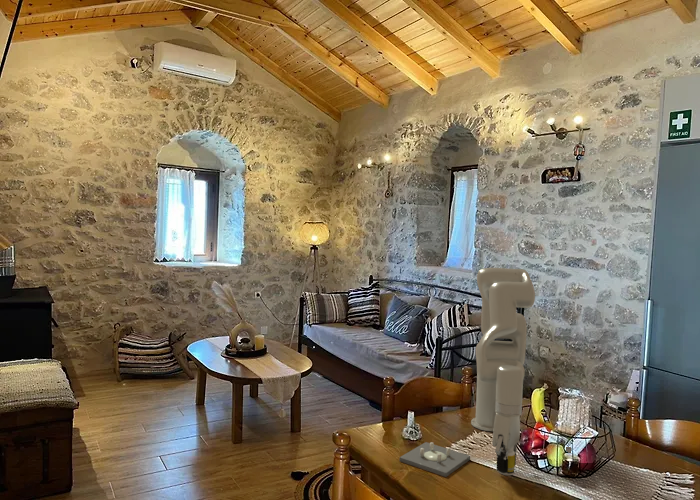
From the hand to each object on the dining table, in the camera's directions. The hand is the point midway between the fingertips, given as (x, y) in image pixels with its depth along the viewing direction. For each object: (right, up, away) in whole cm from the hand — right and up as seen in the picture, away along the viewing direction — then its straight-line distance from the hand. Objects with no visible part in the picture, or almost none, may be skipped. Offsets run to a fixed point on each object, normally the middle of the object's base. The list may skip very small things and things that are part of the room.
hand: (506, 467), depth 159 cm
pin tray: (-20, -1, +7) cm, 21 cm away
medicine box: (+17, -2, +3) cm, 18 cm away
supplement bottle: (0, -2, 0) cm, 2 cm away
